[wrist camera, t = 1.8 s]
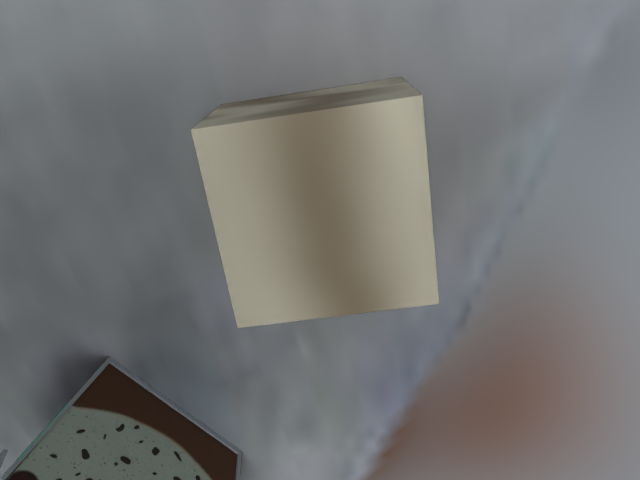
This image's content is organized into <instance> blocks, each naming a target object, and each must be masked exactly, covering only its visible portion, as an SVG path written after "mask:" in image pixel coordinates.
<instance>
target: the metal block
mask: <svg viewBox="0 0 640 480" xmlns="http://www.w3.org/2000/svg"><path fill="white" fill-rule="evenodd" d="M191 132H192V137H193V141H194V145H195V149H196V154H197V158H198V162H199V166H200V171H201V175H202V179H203V183H204V187H205V192H206V196H207V200H208V204H209V209H210V213H211V217H212V221H213V226H214V230H215V234H216V238H217V243H218V247H219V251H220V255H221V260H222V264H223V268H224V272H225V277H226V281H227V285H228V289H229V293H230V298H231V302H232V306H233V310H234V315H235V319H236V323H237V327H238V328H244V327H252V326H260V325H269V324H277V323H285V322H293V321H301V320H310V319H318V318H326V317H334V316H342V315H351V314H359V313H367V312H375V311H384V310H392V309H400V308H408V307H416V306H425V305H433V304H439V297H438V285H437V272H436V259H435V247H434V234H433V222H432V209H431V197H430V184H429V172H428V159H427V146H426V134H425V121H424V109H423V96H422V94H421V93H419V92H418V91H417V90H416V89H415V88H414V87H413V86H412V85H410V84H409V83H408V82H407V81H406V80H405V79H404V78H403V77H399V78H392V79H385V80H379V81H372V82H366V83H359V84H353V85H346V86H339V87H333V88H326V89H320V90H313V91H306V92H300V93H293V94H287V95H280V96H274V97H267V98H260V99H254V100H247V101H241V102H234V103H227V104H221V105H220V106H219V107H218V108H217V109H215V110H214V111H213V112H212V113H211V114H209V115H208V116H207V117H206V118H204V119H203V120H202V121H201V122H200V123H198V124H197V125H196V126H195V127H193V128H192V129H191Z"/></svg>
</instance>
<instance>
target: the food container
mask: <svg viewBox="0 0 640 480" xmlns="http://www.w3.org/2000/svg"><path fill="white" fill-rule="evenodd" d="M7 451H8V450H5V449H3V451H2V452H1V453H0V468H1V465H2V463H3V460H4V458H5V456H6V453H7ZM241 462H242V451H240V450H239V449H237V448H236V447H235V446H233V445H232V444H231V443H229V442H228V441H226V440H225V439H224V438H222V437H221V436H219V435H218V434H217V433H215V432H214V431H212V430H211V429H210V428H208V427H207V426H205V425H204V424H203V423H201V422H200V421H198V420H197V419H196V418H194V417H193V416H191V415H190V414H189V413H187V412H186V411H184V410H183V409H182V408H180V407H179V406H177V405H176V404H175V403H173V402H172V401H170V400H169V399H168V398H166V397H165V396H163V395H162V394H161V393H159V392H158V391H157V390H155V389H154V388H152V387H151V386H150V385H148V384H147V383H145V382H144V381H143V380H141V379H140V378H138V377H137V376H136V375H134V374H133V373H131V372H130V371H129V370H127V369H126V368H124V367H123V366H122V365H120V364H119V363H117V362H116V361H115V360H113V359H112V358H110V357H108V358H107V360H106V361H105V362H104V363H103V364H102V365H101V366H100V367H99V368H98V370H97V371H96V372H95V373H94V374H93V375H92V376H91V377H90V379H89V380H88V381H87V382H86V383H85V384H84V385H83V386H82V388H81V389H80V390H79V391H78V392H77V393H76V394H75V395H74V396H73V398H72V399H71V400H70V401H69V402H68V403H67V404H66V405H65V407H64V408H63V409H62V410H61V411H60V412H59V413H58V414H57V415H56V417H55V418H54V419H53V420H52V421H51V422H50V423H49V424H48V426H47V427H46V428H45V429H44V430H43V431H42V432H41V433H40V434H39V436H38V437H37V438H36V439H35V440H34V441H33V442H32V443H31V445H30V446H29V447H28V448H27V449H26V450H25V451H24V452H23V453H22V455H21V456H20V457H19V458H18V459H17V460H16V461H15V462H14V464H13V465H12V466H11V467H10V468H9V469H8V470H7V471H6V472H5V474H4V475H3V476H2V477H1V478H2V480H240V473H241Z"/></svg>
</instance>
